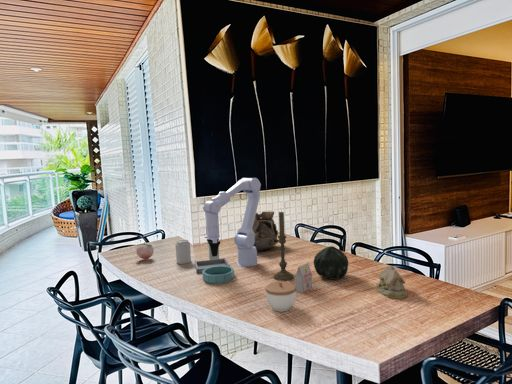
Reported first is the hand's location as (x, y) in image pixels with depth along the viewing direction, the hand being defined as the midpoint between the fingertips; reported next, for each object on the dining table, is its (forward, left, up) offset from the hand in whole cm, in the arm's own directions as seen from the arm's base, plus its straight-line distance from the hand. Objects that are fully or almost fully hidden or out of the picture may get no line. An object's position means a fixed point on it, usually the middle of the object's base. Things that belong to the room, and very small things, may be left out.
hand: (214, 254), depth 168 cm
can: (+13, -24, -9) cm, 29 cm away
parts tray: (0, -9, -9) cm, 12 cm away
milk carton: (-32, +33, -9) cm, 47 cm away
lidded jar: (-18, +47, -9) cm, 51 cm away
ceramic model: (-63, +47, -9) cm, 79 cm away
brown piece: (-32, -37, -9) cm, 49 cm away
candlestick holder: (-29, +16, -9) cm, 34 cm away
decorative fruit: (+33, -39, -9) cm, 52 cm away
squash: (-49, +23, -9) cm, 55 cm away
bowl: (-1, +7, -9) cm, 12 cm away
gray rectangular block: (0, 0, -2) cm, 2 cm away
